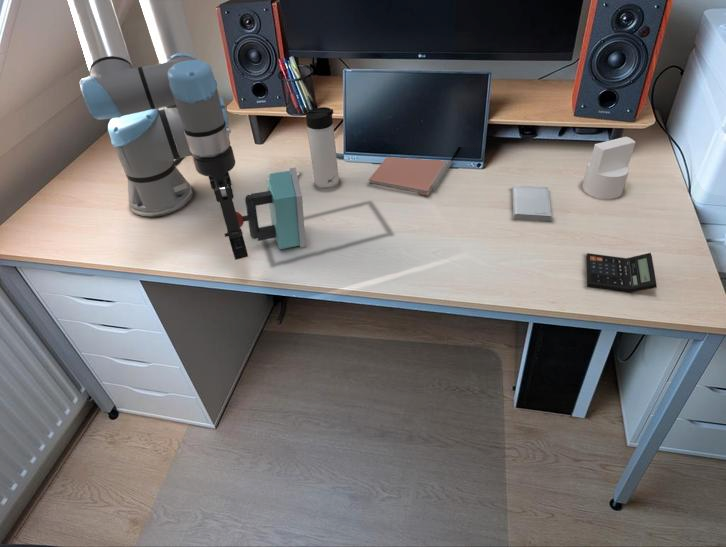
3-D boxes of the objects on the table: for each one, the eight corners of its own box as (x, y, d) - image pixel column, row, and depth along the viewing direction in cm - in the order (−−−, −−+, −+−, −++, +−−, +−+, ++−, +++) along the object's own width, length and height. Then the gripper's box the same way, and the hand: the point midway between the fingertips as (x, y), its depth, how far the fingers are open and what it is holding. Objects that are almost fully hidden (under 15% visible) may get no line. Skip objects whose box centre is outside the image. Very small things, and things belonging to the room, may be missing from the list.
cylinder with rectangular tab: (598, 202, 120) (611, 156, 112) (574, 183, 127) (585, 138, 119) (630, 194, 122) (646, 147, 114) (605, 175, 129) (618, 130, 121)
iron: (290, 157, 109) (214, 168, 105) (301, 178, 102) (220, 190, 98) (295, 224, 120) (227, 237, 116) (305, 247, 113) (233, 261, 109)
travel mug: (337, 192, 130) (329, 116, 117) (312, 190, 132) (301, 115, 118) (343, 179, 135) (335, 105, 122) (318, 177, 136) (309, 104, 123)
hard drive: (552, 216, 115) (548, 185, 124) (514, 213, 116) (512, 184, 125) (550, 222, 116) (547, 191, 125) (513, 219, 117) (512, 189, 126)
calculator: (586, 256, 106) (589, 244, 104) (648, 264, 104) (652, 252, 102) (587, 286, 100) (590, 275, 98) (653, 296, 97) (658, 284, 95)
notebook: (431, 197, 126) (432, 190, 125) (368, 185, 132) (368, 178, 130) (464, 146, 144) (464, 140, 143) (407, 137, 150) (407, 131, 148)
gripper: (242, 176, 89) (264, 268, 103) (222, 118, 107) (243, 204, 121) (198, 186, 88) (227, 278, 102) (185, 126, 106) (211, 212, 120)
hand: (236, 238), depth 111 cm, fingers open, 13 cm apart
